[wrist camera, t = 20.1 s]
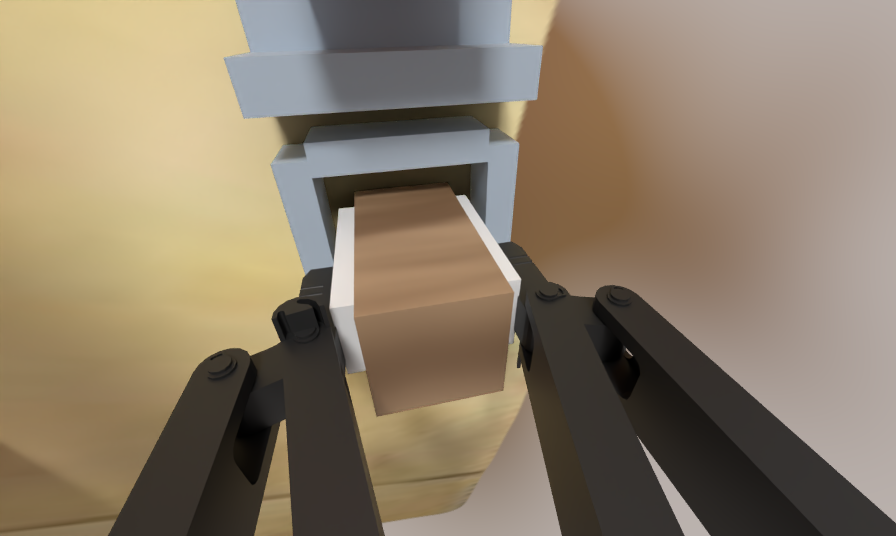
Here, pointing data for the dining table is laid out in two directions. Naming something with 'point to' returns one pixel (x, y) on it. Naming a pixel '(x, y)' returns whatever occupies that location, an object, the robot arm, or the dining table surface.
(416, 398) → the brown wooden block
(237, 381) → the robot arm
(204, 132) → the dining table surface
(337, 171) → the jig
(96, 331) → the dining table surface
